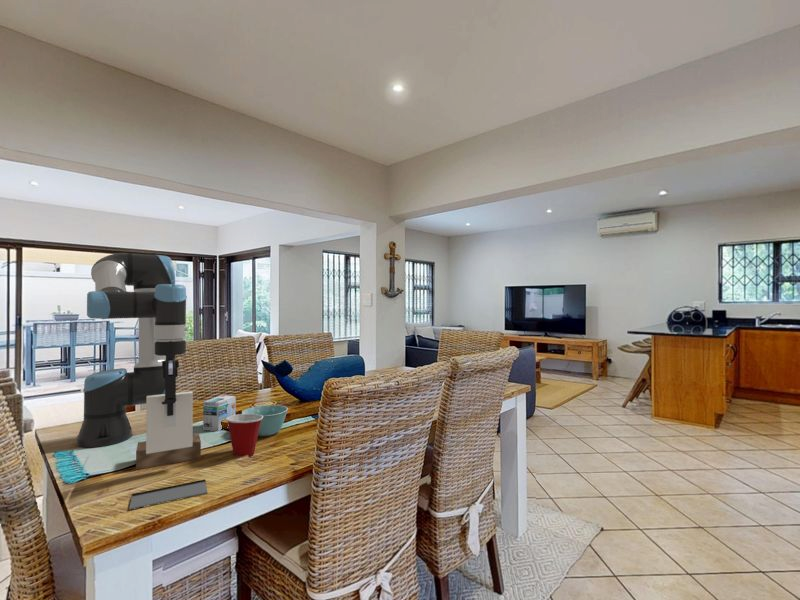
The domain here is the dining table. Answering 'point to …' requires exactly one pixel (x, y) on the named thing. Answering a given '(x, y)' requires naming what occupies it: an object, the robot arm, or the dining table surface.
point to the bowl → (269, 418)
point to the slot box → (167, 454)
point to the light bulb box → (217, 411)
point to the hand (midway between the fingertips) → (170, 425)
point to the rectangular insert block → (170, 436)
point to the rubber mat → (168, 494)
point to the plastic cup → (244, 433)
